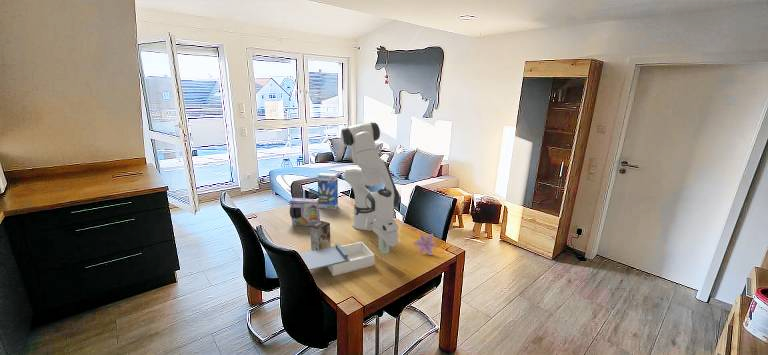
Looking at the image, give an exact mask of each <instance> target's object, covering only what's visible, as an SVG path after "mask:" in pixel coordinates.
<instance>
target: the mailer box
mask: <svg viewBox="0 0 768 355" xmlns="http://www.w3.org/2000/svg"><path fill="white" fill-rule="evenodd" d="M340 246H341V247H342V248H343V249H344V251H345V252H346V253H347V254H348V258H349V259H350V261H346V262H342V263H338V264H334V265H330V266H326V268H327V269H328V271H329V272H330V275H331V276H332V277H335V276H340V275H343V274H347V273H351V272H355V271H358V270H359V271H360V270H363V269H366V268H370V267H374V266H375V265H376V264H375V254H374V253H373V251H371V249H370V248H368V246H367V245H366V244H365V243H364V242H363V241H358V242H354V243H349V244H344V245H340Z"/></svg>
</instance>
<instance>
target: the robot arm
mask: <svg viewBox="0 0 768 355" xmlns="http://www.w3.org/2000/svg"><path fill="white" fill-rule="evenodd" d="M340 131H341V132H340V140H341V141H342V143H343V145H345V146H350V150H351V158H352V159H351V160H352V162H353V163H354V165H355V166H349V167H348V166H347V168H346V169H345V170H344V174H343V177H344V180H345V182H347V183H348V184H349V185H350V186H351V189H352V190H353V194H354V205H353V206H354V207H353V209H354V210H353V212H354V216H353V217H354V218H353V222H352V227H353V228H355V229H357V230H362V231H363V230H364V231H367V232H368V231H373V232H374V233H375V234H376V235H377V238H379V237H381V238H382V239H383V240H384V241H385V243H386V245H385V248H386V249H388V248H389V249H390V247H394V246H397V244H398V243H399V242H398V241H399V238H398V237H399V233H398V230H399V226H398V224H397V223H396V220H395V219H394V213H393V212H394V209H395V208H396V207H397V206H398V205H399V204H400V202H401V195H400V192H399V190H398V189H397V187H396V185H395V183H394V179H393V176H392V174H391V172H390V169H389V166H388V164H387V162H386V161H385V160H383V159H382V158H381V157H380V155H379V153H378V150H377V145H376V141H379V139H380V136H381V129H380V127H379V125H378V123H376V122H368V123H367V122H365V123H358V124H352V125H350V126H345V127H342V129H341V130H340ZM382 183H383V185H384V187H385V188H380V189H378V190H376V191H370V190H369V189H368V188H367V187H366V186H368V187H376V186H377V187H378V186H381V184H382Z"/></svg>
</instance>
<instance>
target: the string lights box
mask: <svg viewBox="0 0 768 355" xmlns="http://www.w3.org/2000/svg"><path fill="white" fill-rule="evenodd" d="M338 176H339V175H338V173H334V172H333V173H332V172H320V173H318V174H317V191H318V192H317V195H318V197H317V198H318V199H317V200H319V209H329V210H336V209H337V208H338V207H339V202H338V201H339V198H338V197H339V195H338V194H339V193H338V191H339V189H338V188H339V186H338V182H339V181H338Z"/></svg>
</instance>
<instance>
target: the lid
mask: <svg viewBox="0 0 768 355" xmlns="http://www.w3.org/2000/svg"><path fill="white" fill-rule="evenodd" d="M341 246H342V245H341V244H340V243H337V242H336V243H335V245H333V246H332V245H331V247H328V248H323V249H318V250H314V251H311V250H310V251H305V252H301V253H299V254H300V256H301V257H302V259H303V260H304V262H305V264H306V265H307V267H308V269H309V271H313V270H317V269H321V268H325V267H326V268H327V266H330V265H334V264H338V263H342V262H346V261H350V259H349V258H348V254H347V253H346V252H345V251H344V249H343V248H342V247H341Z"/></svg>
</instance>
